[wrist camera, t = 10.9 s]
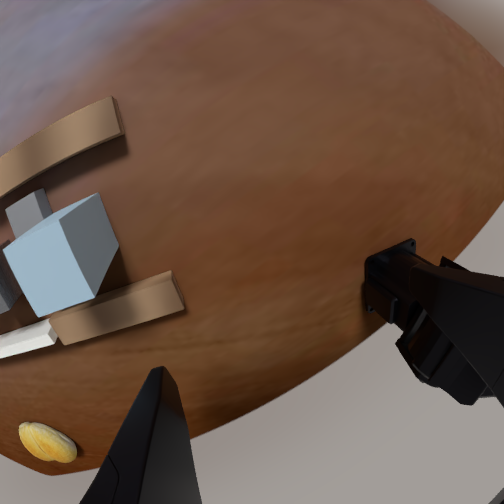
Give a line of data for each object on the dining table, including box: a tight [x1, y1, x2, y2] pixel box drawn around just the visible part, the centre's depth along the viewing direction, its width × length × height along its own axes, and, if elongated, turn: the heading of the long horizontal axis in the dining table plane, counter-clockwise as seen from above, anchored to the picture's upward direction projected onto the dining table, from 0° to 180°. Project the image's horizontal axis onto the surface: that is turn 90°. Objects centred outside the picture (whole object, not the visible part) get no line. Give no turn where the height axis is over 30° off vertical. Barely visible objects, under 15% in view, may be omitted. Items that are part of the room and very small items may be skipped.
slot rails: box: [0, 96, 184, 345], centre depth 15 cm, size 11×15×2 cm
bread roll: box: [19, 422, 77, 463], centre depth 21 cm, size 8×9×4 cm
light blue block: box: [3, 188, 119, 318], centre depth 13 cm, size 7×8×7 cm
